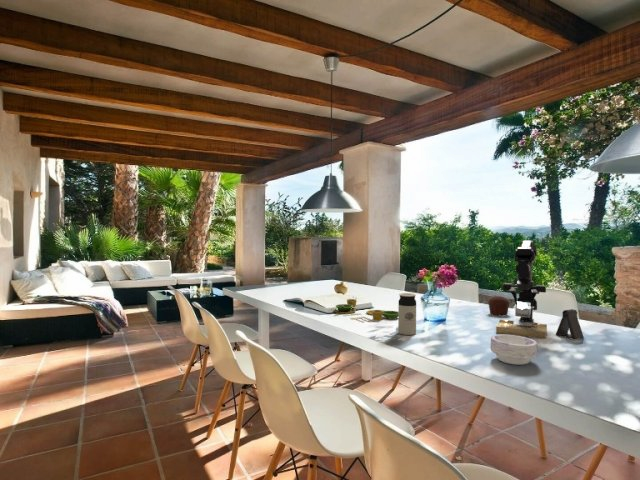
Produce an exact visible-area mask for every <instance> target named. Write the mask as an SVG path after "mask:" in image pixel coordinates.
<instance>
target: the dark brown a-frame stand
mask: <svg viewBox="0 0 640 480" xmlns="http://www.w3.org/2000/svg"><path fill="white" fill-rule="evenodd" d="M561 314H562V317H561V320H560V322H559V325H558V327H557V330H556V332H555V336H557V337H562V338H567V339H571V340H574V341H575V340H580V339H584V338H585V337H584V333H583V331H582V327H581V325H580V321H579V319H578V311H577V310H576V309H573V308H571V309H565V310H564V309H563V311H562V313H561Z"/></svg>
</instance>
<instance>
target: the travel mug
mask: <svg viewBox="0 0 640 480" xmlns="http://www.w3.org/2000/svg"><path fill="white" fill-rule="evenodd" d="M416 295H417V294H415V293H409V292H402V293H399V300H398V306H397V307H398V308H397V310H398V311H397V312H398V317H397V319H398V320H397V323H398V324H397V325H398V327H397V328H398V329H397V330H398V331H397V332H398V333H399V334H400V335H402V334H403V335H404V336H413V335H415V334H417V300H416Z"/></svg>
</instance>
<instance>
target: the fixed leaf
mask: <svg viewBox="0 0 640 480" xmlns="http://www.w3.org/2000/svg"><path fill="white" fill-rule="evenodd" d="M547 325H548V324H546V323H536V322H531V325H527V324H526V325H525V324H524V325H523V324H517V323H516V324H515V323H514V320H507V319H499V321H498V323H497V325H496V326H495V328H496V330H495V333H496V334H500V335H515V336H521V337H526V338H536V339H546V338H547V332H548V328H547V327H548V326H547Z"/></svg>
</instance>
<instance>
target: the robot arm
mask: <svg viewBox="0 0 640 480" xmlns="http://www.w3.org/2000/svg"><path fill="white" fill-rule="evenodd" d="M536 257H538V246H537V245H536V244H534V241H533V240H522V241H521V244H520V245H519V246H518V247H517V248H516V249H515V253H514V262H517V265H516V266H515V272H516V273H517V280H516V284H513V283H512V282H511V283H510V282H504V283H503V284H502V286H501V287H502V289H501V290H504V291H508V292H509V293H511V295H512V297H513V299H514V302H515V305H516V306H517V302H527V303H531V312H530V318H528V317H520V318H519V319H518V321H519V322H528V323H530V322H531V323H534V321H535V319H534V318H533V315H534V314H533V313H534V311H537V310H538V301H537V298H535V297H536V296H537V295H539V294H540V293H546V291H547V285H543V284H536V286H534V280H532V279H533V278H532V275H533V273H532V272H533V263H534V262H535V261H536V259H537V258H536ZM517 290H518V291H519V293H518V296H517Z"/></svg>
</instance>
